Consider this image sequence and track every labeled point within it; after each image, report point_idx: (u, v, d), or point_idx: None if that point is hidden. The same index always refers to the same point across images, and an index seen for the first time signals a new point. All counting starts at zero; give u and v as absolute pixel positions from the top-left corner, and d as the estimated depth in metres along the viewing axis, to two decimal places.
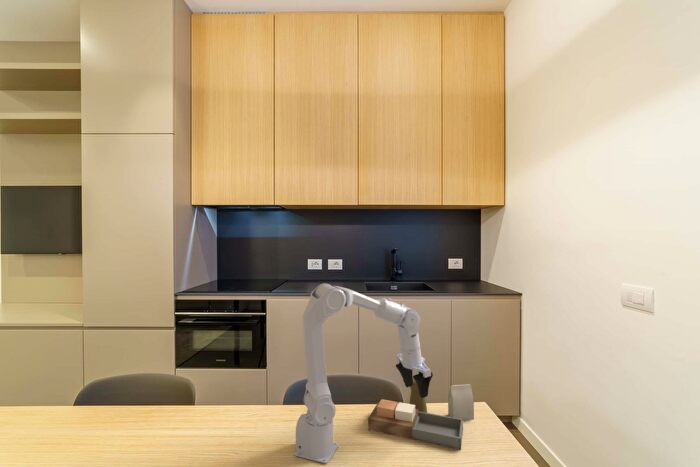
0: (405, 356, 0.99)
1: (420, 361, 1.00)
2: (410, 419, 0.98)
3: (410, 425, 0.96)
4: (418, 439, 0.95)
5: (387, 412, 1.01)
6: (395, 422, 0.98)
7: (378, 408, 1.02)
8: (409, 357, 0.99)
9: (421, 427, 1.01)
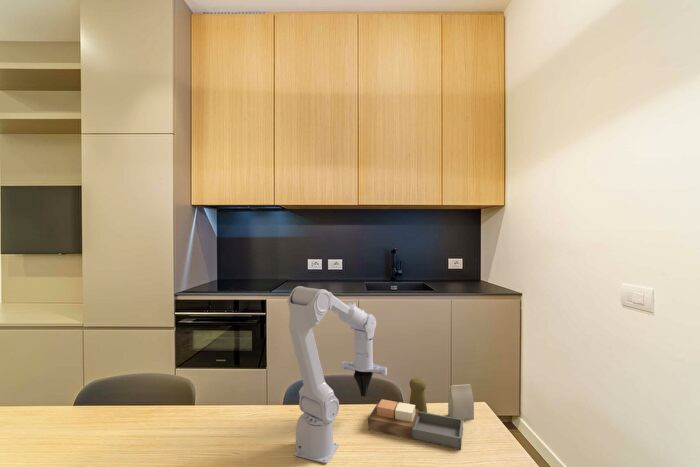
0: (363, 360, 1.03)
1: (372, 363, 1.06)
2: (410, 419, 0.98)
3: (410, 425, 0.96)
4: (418, 439, 0.95)
5: (387, 412, 1.01)
6: (395, 422, 0.98)
7: (378, 408, 1.02)
8: (368, 359, 1.03)
9: (421, 427, 1.01)
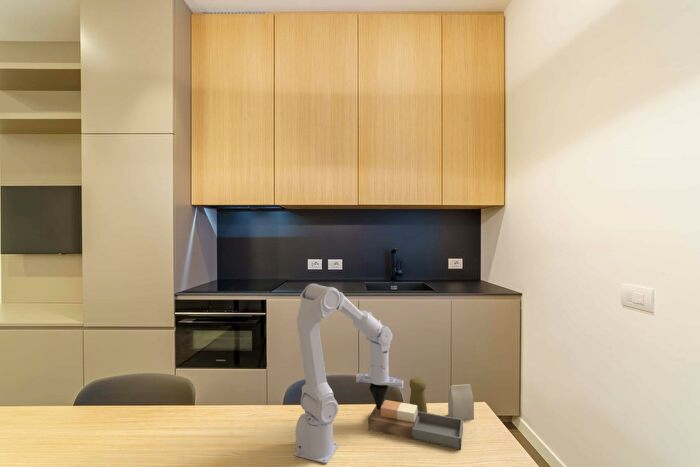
0: (379, 373, 1.01)
1: None
2: (412, 419, 0.98)
3: (410, 425, 0.96)
4: (418, 439, 0.95)
5: (390, 413, 1.00)
6: (395, 422, 0.98)
7: (382, 409, 1.01)
8: (384, 372, 1.02)
9: (421, 427, 1.01)
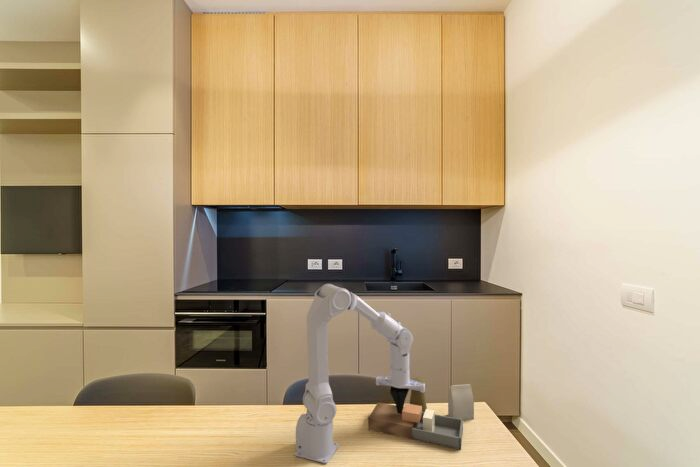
0: (401, 376, 0.99)
1: None
2: None
3: (410, 425, 0.96)
4: (418, 439, 0.95)
5: (412, 417, 0.98)
6: (395, 422, 0.98)
7: (403, 413, 0.99)
8: (405, 375, 0.99)
9: (421, 427, 1.01)
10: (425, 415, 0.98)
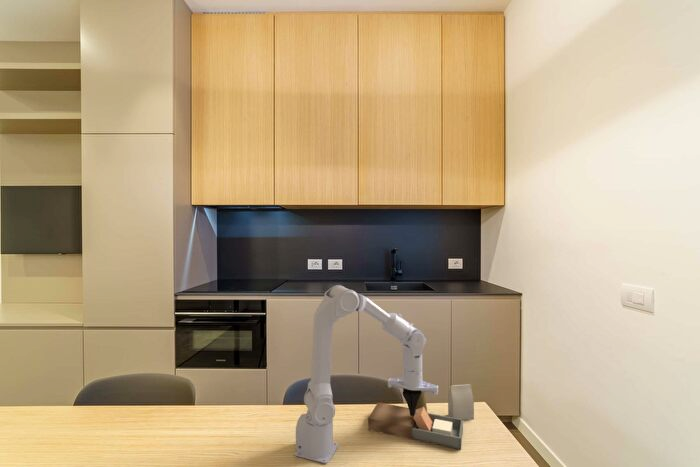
0: (414, 378, 0.98)
1: None
2: (434, 430, 0.96)
3: (410, 425, 0.96)
4: (418, 439, 0.95)
5: (423, 426, 0.97)
6: (395, 422, 0.98)
7: (420, 416, 0.97)
8: (418, 377, 0.98)
9: None
10: (451, 431, 0.95)
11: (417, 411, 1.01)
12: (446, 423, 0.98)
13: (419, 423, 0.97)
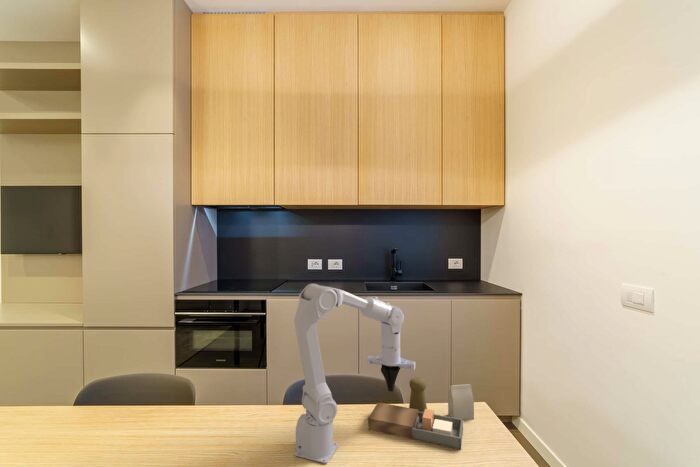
0: (391, 354, 1.00)
1: None
2: (434, 430, 0.96)
3: (410, 425, 0.96)
4: (418, 439, 0.95)
5: (427, 429, 0.96)
6: (395, 422, 0.98)
7: (429, 420, 0.96)
8: (395, 353, 1.01)
9: (421, 427, 1.01)
10: (451, 431, 0.95)
11: (426, 412, 1.00)
12: (446, 423, 0.98)
13: (425, 424, 0.97)
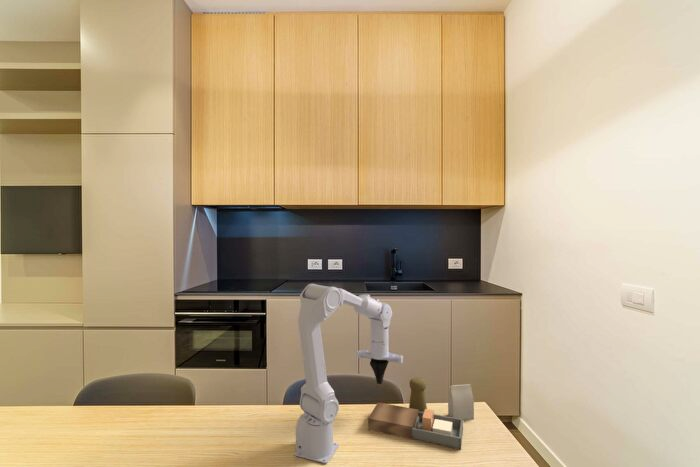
0: (380, 348, 1.05)
1: None
2: (434, 430, 0.96)
3: (410, 425, 0.96)
4: (418, 439, 0.95)
5: (427, 429, 0.96)
6: (395, 422, 0.98)
7: (429, 420, 0.96)
8: (384, 348, 1.06)
9: (421, 427, 1.01)
10: (451, 431, 0.95)
11: (426, 412, 1.00)
12: (446, 423, 0.98)
13: (425, 424, 0.97)
